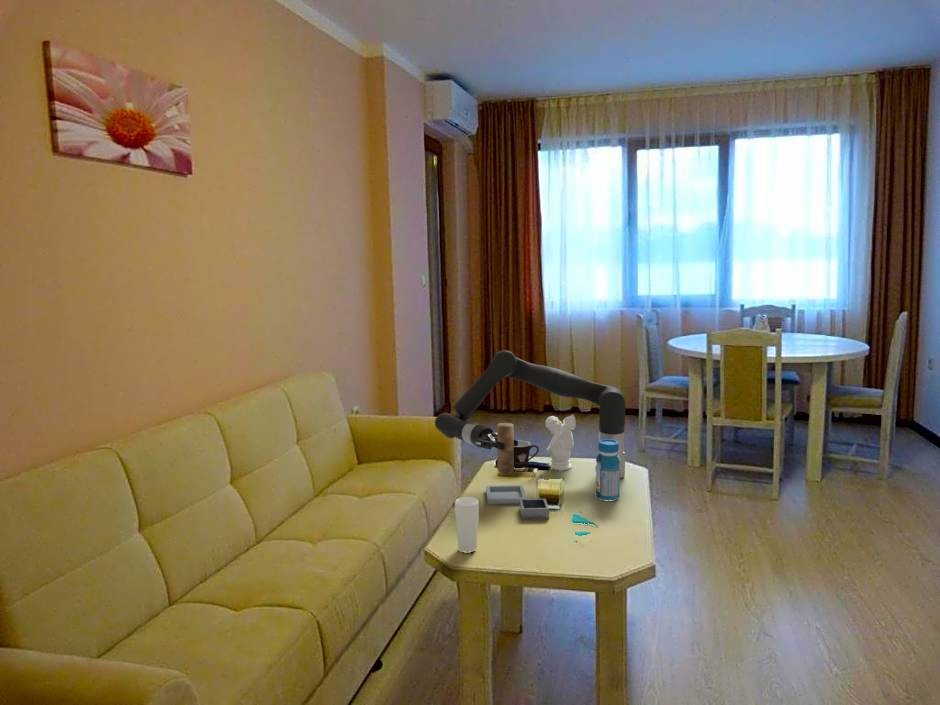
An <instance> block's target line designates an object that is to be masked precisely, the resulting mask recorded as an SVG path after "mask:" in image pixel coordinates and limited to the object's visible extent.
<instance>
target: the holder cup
mask: <svg viewBox="0 0 940 705" xmlns="http://www.w3.org/2000/svg"><path fill="white" fill-rule="evenodd" d="M518 507H519V513H520V516H521V517H520V518H521V520H522V521H526V520H527V521H531V520H534V521H536V520H537V521H539V520H540V521H541V520H542V521H543V520H549V519H550V508H549V505H548V502H547V499H546V498H527V499H519V506H518Z"/></svg>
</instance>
